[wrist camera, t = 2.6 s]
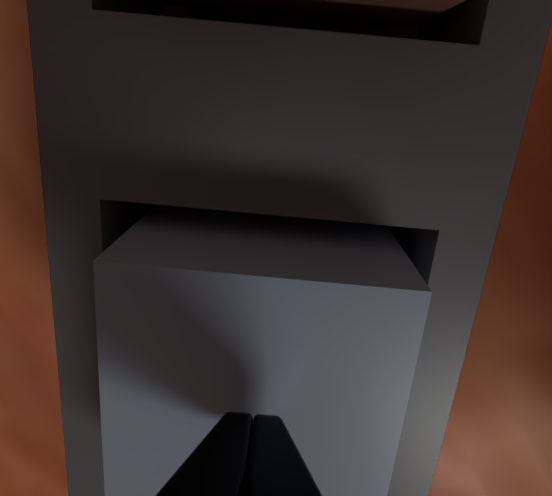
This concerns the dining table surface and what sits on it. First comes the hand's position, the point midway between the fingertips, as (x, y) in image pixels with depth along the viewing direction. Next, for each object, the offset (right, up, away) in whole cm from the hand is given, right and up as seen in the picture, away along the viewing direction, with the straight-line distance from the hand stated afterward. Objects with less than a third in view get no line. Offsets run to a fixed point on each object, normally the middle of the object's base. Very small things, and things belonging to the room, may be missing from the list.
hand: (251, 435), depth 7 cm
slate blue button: (0, +2, +4) cm, 5 cm away
